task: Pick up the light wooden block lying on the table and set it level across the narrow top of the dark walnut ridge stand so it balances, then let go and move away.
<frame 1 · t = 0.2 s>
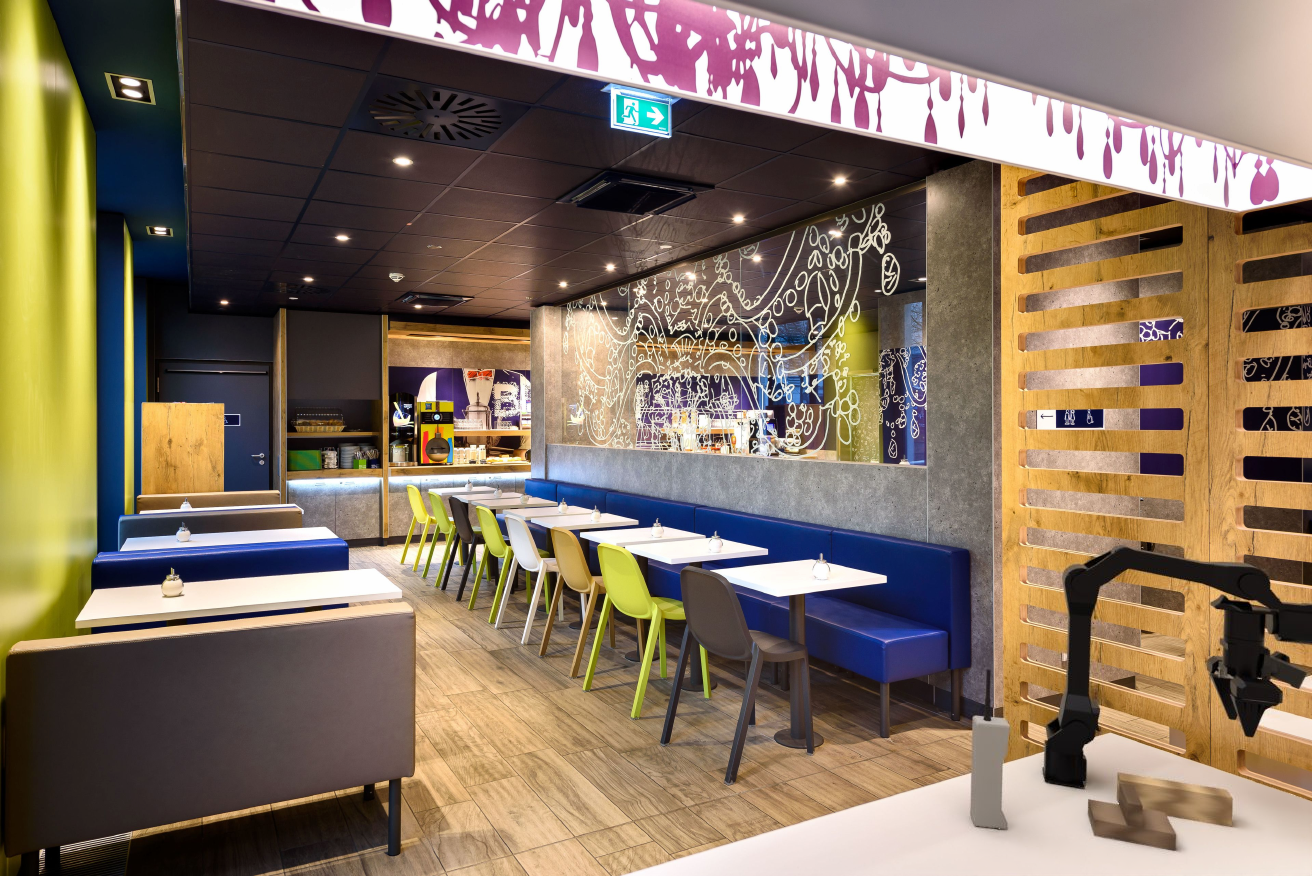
hand: (1240, 728, 136), 14 cm above the table, tool pointing down, fingers open, 9 cm apart
light wooden block: (1172, 814, 134), on the table
vintage mobile phone: (988, 824, 128), on the table
ridge stand: (1129, 831, 127), on the table
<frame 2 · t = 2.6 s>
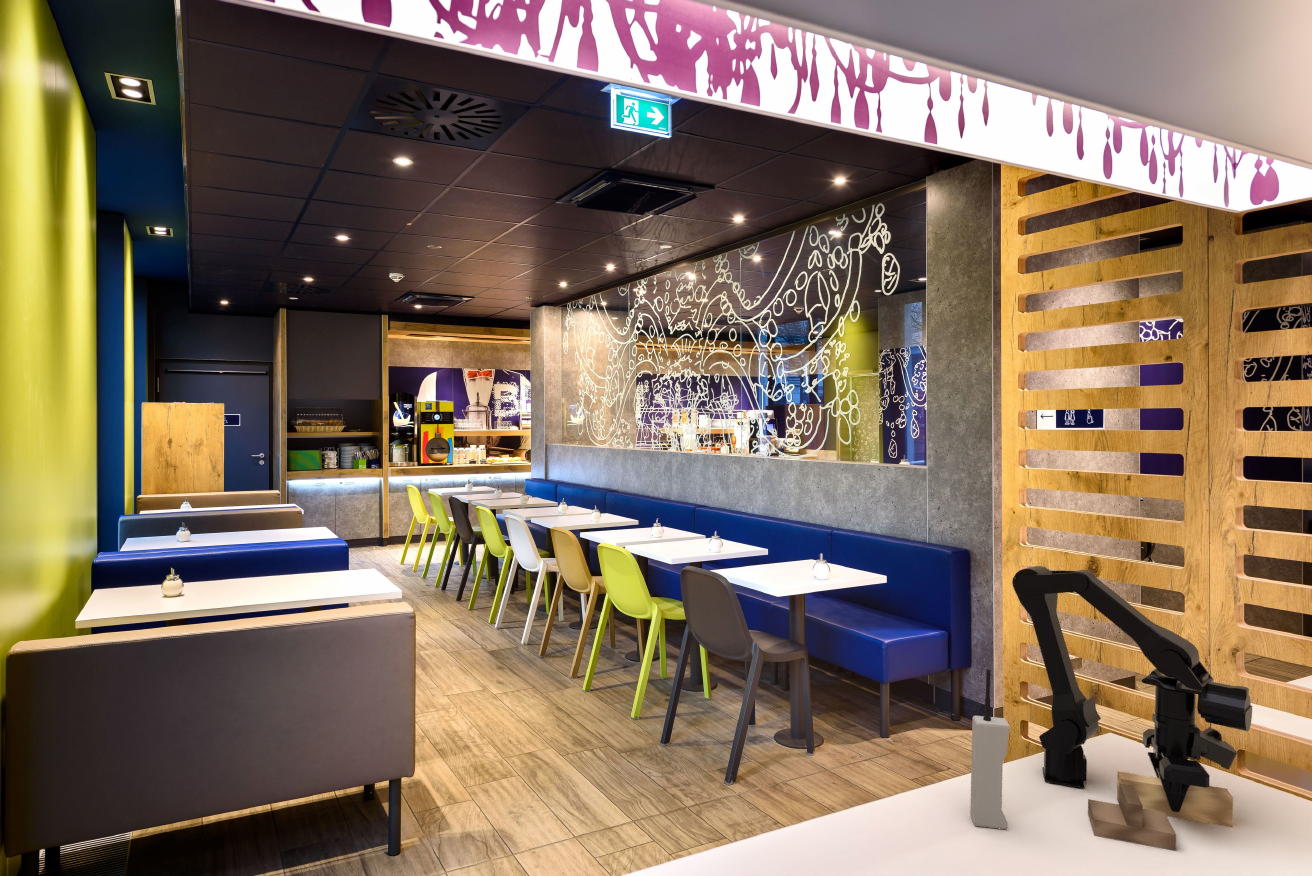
hand: (1172, 806, 134), 1 cm above the table, tool pointing down, fingers closed on light wooden block, 3 cm apart
light wooden block: (1172, 813, 134), on the table, touching gripper
everything else where it was.
when the fingers open (8 cm above the table, at t = 6.7 s): light wooden block stays where it is, resting on ridge stand.
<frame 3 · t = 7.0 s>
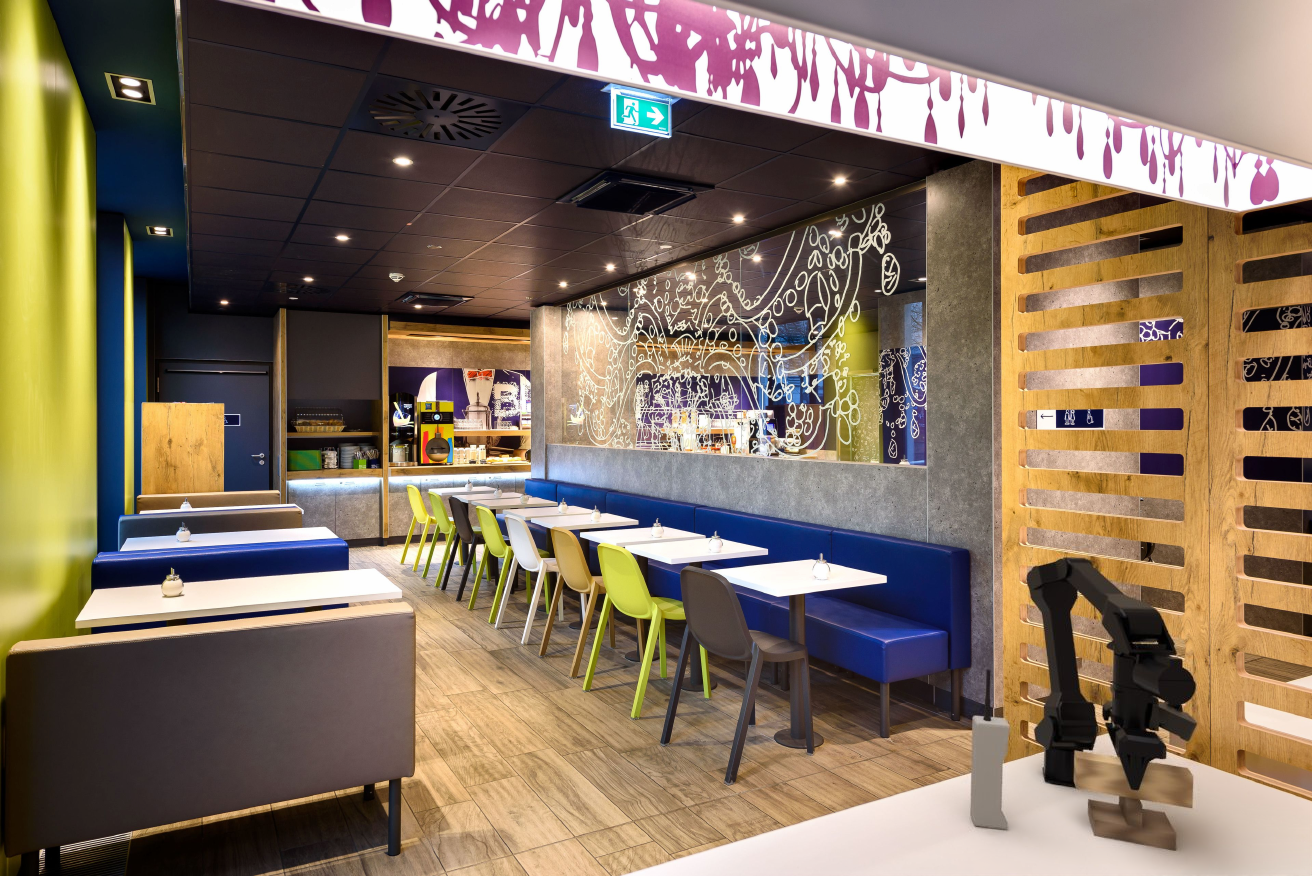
hand: (1130, 781, 127), 8 cm above the table, tool pointing down, fingers open, 6 cm apart
light wooden block: (1131, 794, 127), point 6 cm above the table, touching ridge stand
everything else where it was.
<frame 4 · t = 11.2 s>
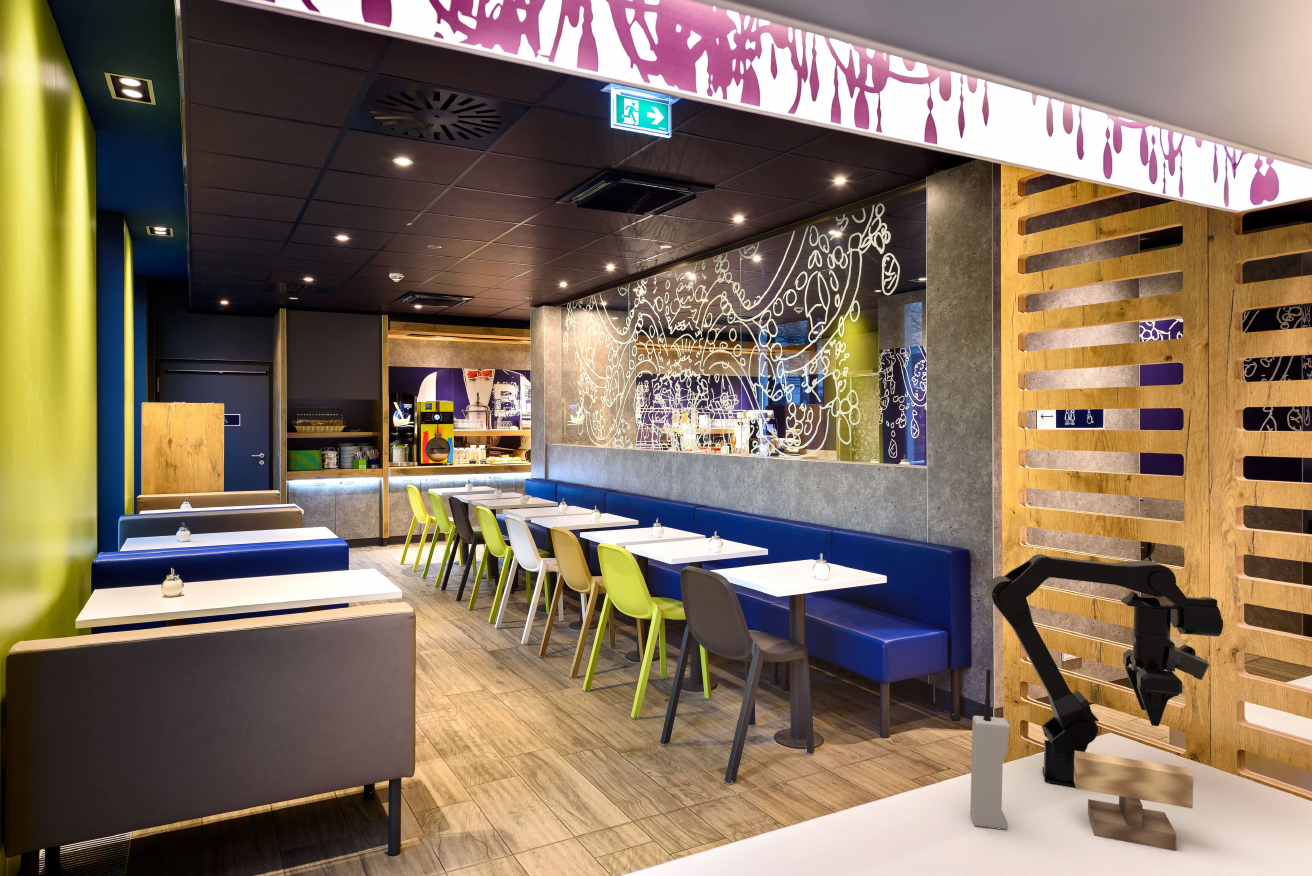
hand: (1149, 717, 143), 13 cm above the table, tool pointing down, fingers open, 9 cm apart
nothing on the table moved.
at the end: light wooden block inside the target area on the ridge stand (0.1 cm from its centre), point 6.0 cm above the ridge stand's base; light wooden block tilted 0°; the gripper is holding nothing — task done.
